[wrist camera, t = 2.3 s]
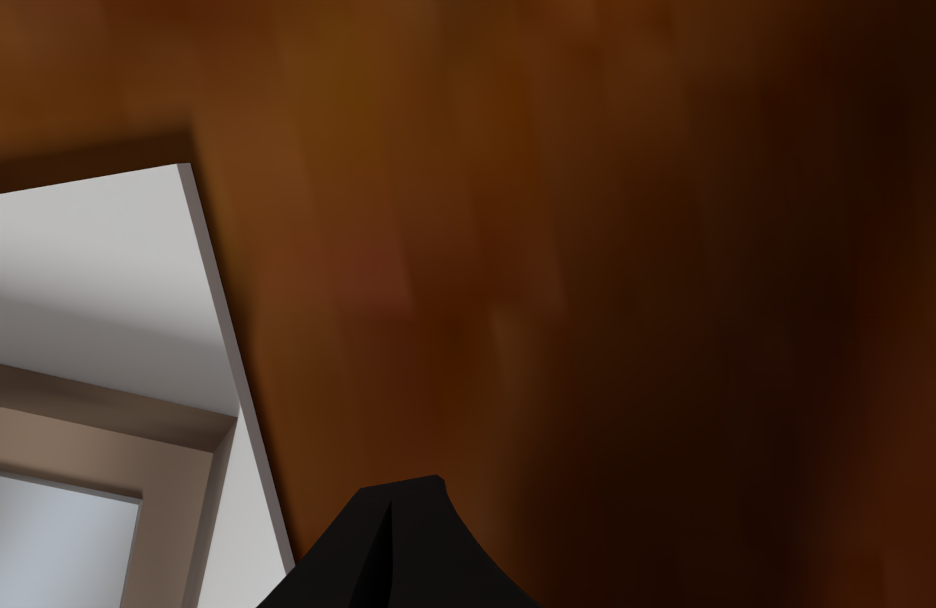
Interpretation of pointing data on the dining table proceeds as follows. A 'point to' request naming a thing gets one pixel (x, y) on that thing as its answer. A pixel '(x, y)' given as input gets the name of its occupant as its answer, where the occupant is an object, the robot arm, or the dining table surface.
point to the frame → (105, 495)
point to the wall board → (143, 335)
